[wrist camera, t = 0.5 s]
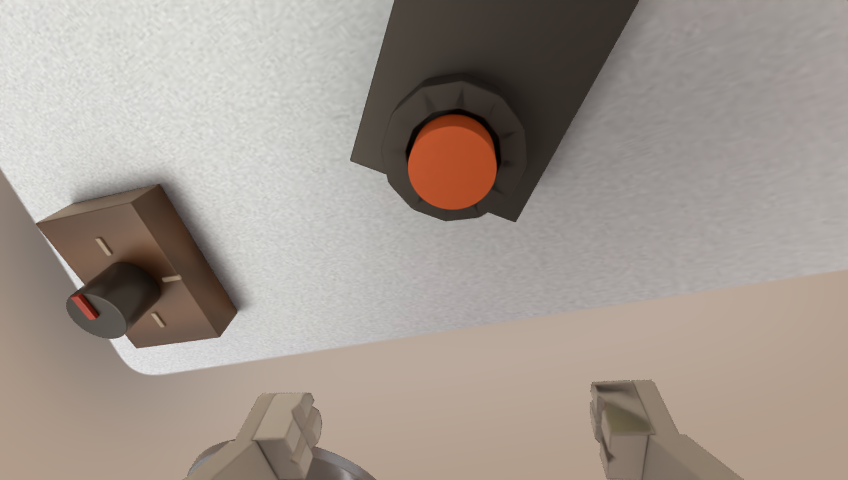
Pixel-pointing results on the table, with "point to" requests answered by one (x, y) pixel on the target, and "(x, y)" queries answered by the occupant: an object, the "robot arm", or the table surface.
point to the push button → (452, 162)
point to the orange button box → (485, 85)
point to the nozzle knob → (113, 300)
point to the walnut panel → (145, 261)
